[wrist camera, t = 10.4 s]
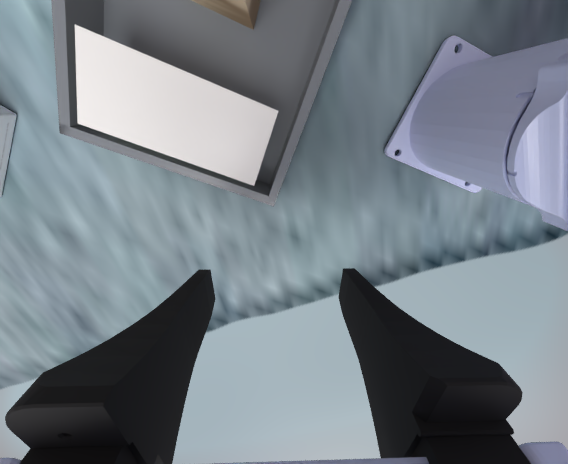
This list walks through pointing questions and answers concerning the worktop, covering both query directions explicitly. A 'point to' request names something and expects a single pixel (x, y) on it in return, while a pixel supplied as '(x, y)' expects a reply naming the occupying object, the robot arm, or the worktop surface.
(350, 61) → the worktop surface
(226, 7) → the wood block
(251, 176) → the white box
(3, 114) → the small box
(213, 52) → the tray
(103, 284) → the worktop surface
